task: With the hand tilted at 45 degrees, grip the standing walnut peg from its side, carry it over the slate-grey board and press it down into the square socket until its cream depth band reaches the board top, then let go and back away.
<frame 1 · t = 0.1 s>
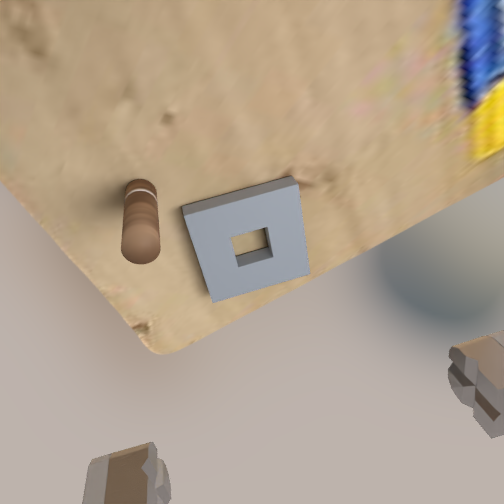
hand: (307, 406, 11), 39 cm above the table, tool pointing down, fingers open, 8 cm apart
peg: (141, 193, 47), on the table
socket board: (248, 237, 54), on the table
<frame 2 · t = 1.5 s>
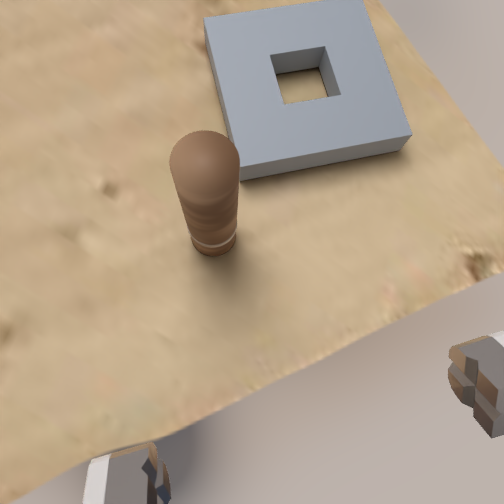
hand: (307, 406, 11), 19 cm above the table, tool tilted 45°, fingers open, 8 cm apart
peg: (213, 234, 32), on the table
socket board: (299, 94, 36), on the table
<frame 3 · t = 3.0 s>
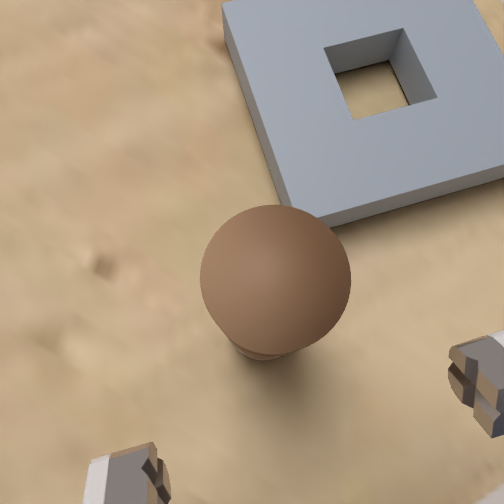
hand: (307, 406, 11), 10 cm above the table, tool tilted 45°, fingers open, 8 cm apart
peg: (262, 325, 21), on the table
socket board: (366, 101, 25), on the table
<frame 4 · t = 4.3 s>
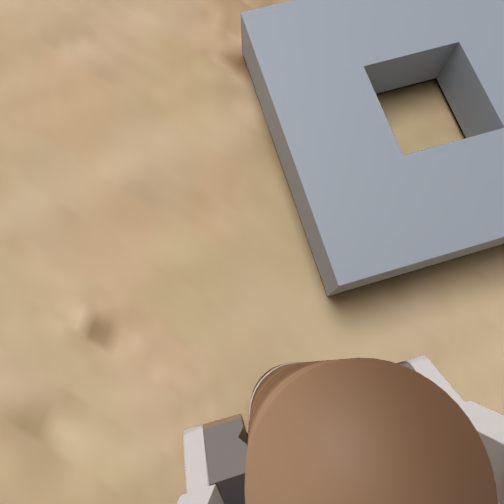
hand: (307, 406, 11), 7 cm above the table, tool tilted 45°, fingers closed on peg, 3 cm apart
peg: (291, 406, 17), on the table, touching gripper
socket board: (411, 127, 21), on the table
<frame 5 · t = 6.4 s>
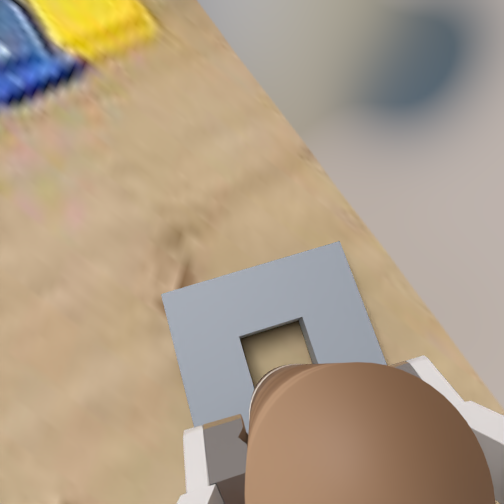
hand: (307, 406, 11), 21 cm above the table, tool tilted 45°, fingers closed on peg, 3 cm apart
peg: (291, 407, 17), point 14 cm above the table, touching gripper
socket board: (278, 359, 31), on the table
when the fingers open (7 cm above the table, at t = 8.7 s): peg stays where it is, resting in socket board.
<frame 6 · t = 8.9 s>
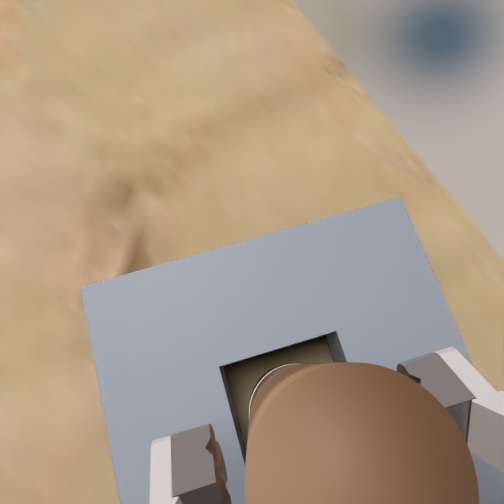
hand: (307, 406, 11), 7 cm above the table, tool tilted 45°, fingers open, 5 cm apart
peg: (290, 406, 18), resting in socket board
socket board: (291, 405, 18), on the table
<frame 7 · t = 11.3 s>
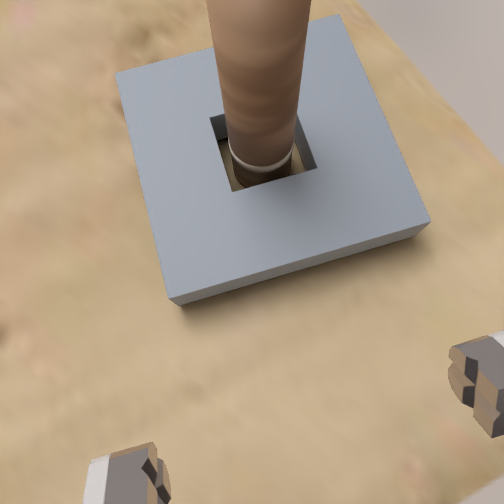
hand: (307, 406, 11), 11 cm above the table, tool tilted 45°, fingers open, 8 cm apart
peg: (261, 164, 25), resting in socket board
socket board: (262, 163, 25), on the table
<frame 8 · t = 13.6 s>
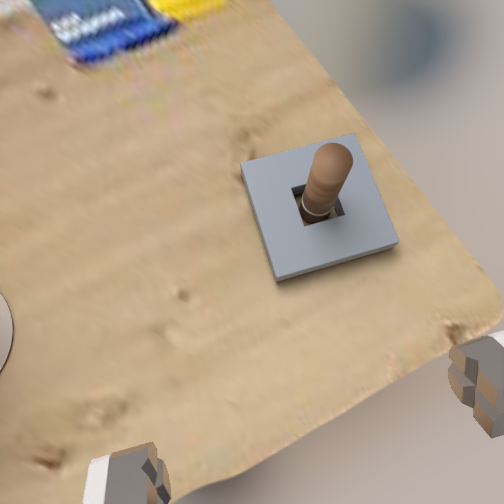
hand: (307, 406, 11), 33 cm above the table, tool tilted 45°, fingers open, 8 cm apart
peg: (314, 209, 48), resting in socket board
socket board: (314, 209, 48), on the table
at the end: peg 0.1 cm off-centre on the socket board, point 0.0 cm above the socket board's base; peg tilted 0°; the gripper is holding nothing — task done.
